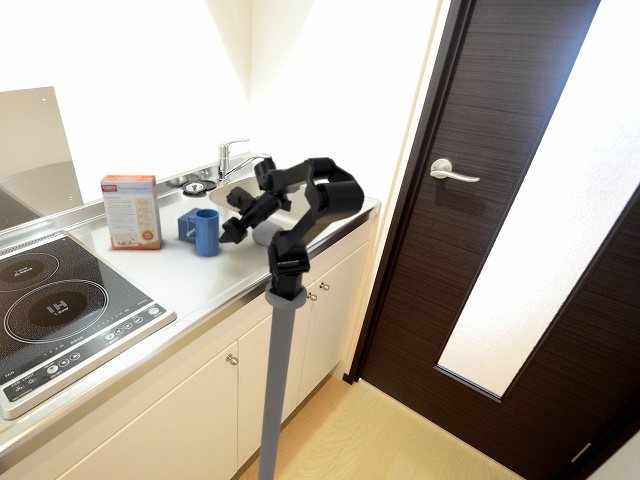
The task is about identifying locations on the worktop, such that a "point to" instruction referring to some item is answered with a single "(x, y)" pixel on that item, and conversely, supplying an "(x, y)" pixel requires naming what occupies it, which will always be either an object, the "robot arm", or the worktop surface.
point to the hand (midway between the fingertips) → (227, 235)
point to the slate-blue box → (183, 226)
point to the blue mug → (205, 231)
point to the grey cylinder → (265, 232)
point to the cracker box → (132, 211)
